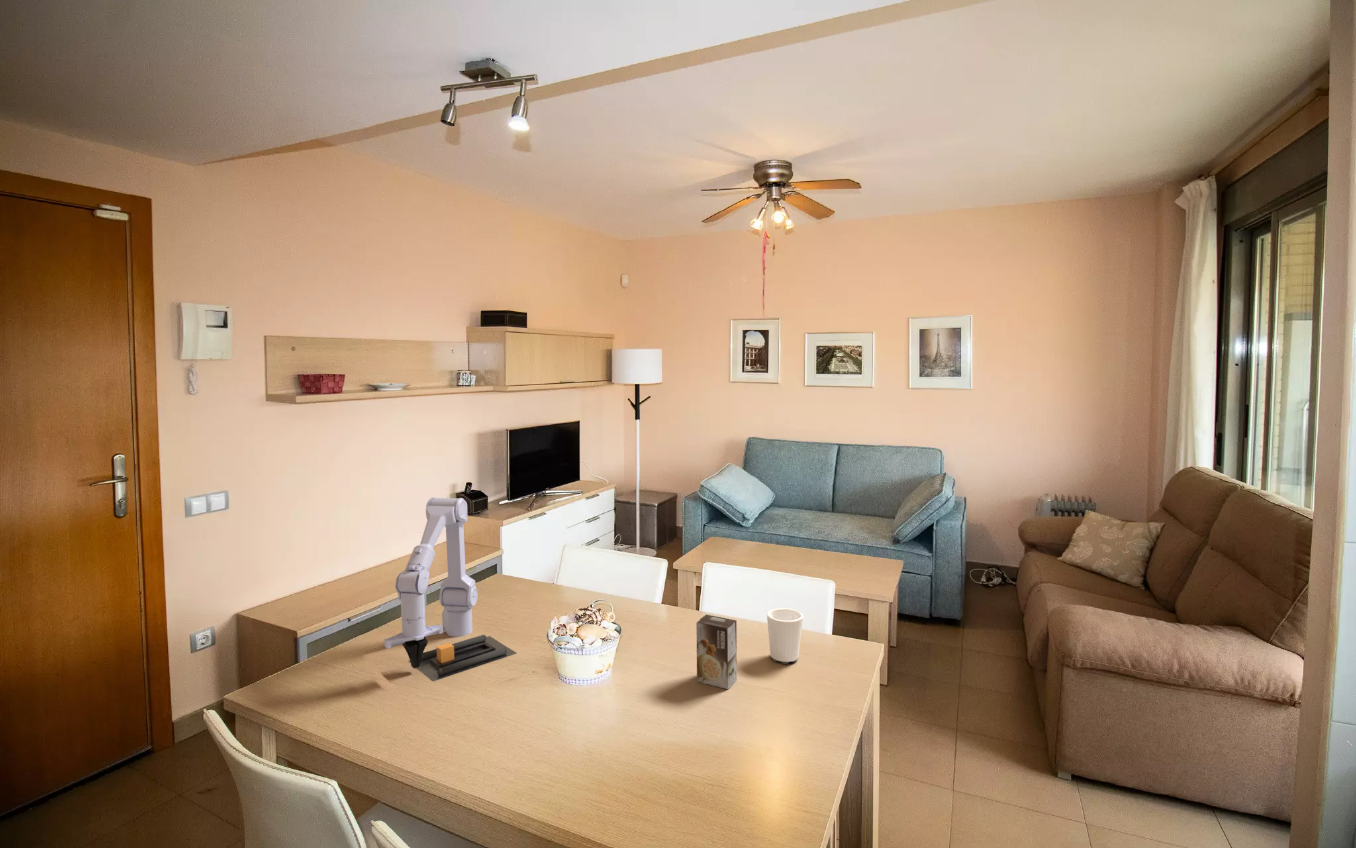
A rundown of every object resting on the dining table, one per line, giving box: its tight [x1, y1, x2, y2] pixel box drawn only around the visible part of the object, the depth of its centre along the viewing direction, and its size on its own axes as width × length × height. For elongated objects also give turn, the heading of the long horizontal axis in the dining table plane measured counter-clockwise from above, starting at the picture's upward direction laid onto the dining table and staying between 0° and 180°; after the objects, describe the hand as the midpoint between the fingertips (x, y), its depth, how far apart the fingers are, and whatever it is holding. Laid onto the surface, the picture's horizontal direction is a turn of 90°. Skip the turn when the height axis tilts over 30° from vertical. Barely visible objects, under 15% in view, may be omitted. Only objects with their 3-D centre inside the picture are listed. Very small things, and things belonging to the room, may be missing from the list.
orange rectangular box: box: [436, 642, 454, 663], centre depth 182 cm, size 3×4×4 cm
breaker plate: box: [408, 635, 518, 682], centre depth 186 cm, size 16×24×2 cm, turn 133°
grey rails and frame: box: [421, 634, 507, 675], centre depth 186 cm, size 14×20×2 cm
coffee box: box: [695, 614, 738, 690], centre depth 174 cm, size 9×6×16 cm
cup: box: [766, 607, 804, 665], centre depth 187 cm, size 10×10×13 cm
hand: (415, 666), depth 177 cm, fingers closed
